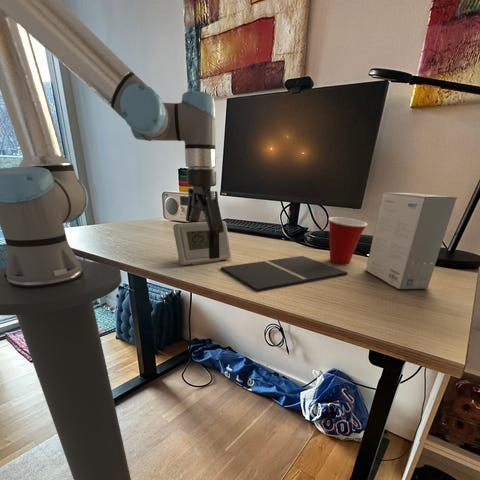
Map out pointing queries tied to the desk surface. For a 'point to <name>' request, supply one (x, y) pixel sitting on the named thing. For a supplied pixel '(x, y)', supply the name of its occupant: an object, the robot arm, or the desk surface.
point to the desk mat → (281, 272)
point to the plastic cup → (344, 238)
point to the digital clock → (199, 243)
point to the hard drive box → (409, 238)
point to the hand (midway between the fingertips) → (204, 252)
